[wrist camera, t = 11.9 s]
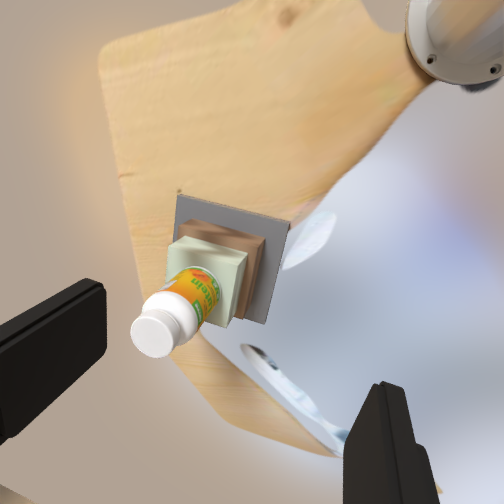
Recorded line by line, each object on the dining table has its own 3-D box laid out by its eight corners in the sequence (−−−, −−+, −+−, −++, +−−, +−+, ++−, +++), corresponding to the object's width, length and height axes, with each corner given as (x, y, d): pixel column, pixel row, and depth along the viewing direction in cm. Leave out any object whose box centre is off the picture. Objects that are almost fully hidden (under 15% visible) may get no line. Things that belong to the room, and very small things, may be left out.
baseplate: (290, 221, 38) (289, 223, 37) (265, 320, 44) (264, 324, 43) (180, 194, 41) (177, 195, 40) (171, 290, 46) (167, 293, 45)
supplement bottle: (231, 297, 33) (193, 352, 24) (195, 316, 35) (149, 373, 27) (203, 256, 33) (153, 298, 24) (168, 278, 35) (110, 324, 26)
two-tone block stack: (265, 237, 39) (248, 259, 31) (250, 304, 42) (232, 338, 35) (192, 218, 40) (160, 235, 33) (184, 284, 44) (154, 312, 37)
